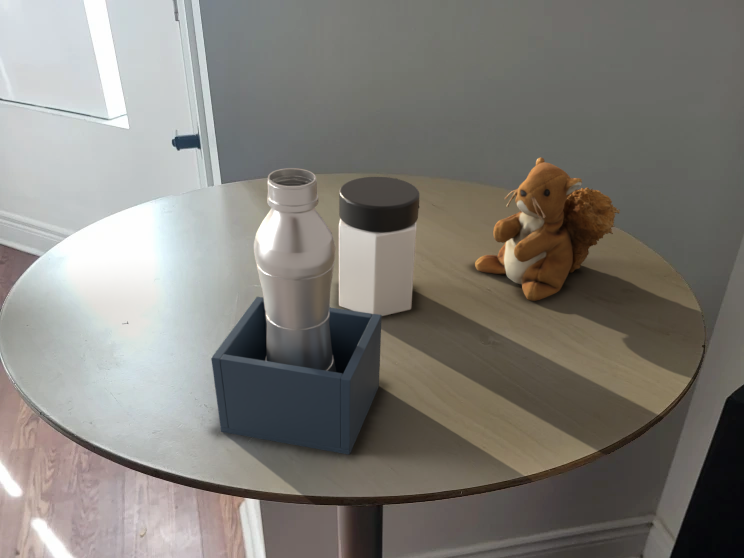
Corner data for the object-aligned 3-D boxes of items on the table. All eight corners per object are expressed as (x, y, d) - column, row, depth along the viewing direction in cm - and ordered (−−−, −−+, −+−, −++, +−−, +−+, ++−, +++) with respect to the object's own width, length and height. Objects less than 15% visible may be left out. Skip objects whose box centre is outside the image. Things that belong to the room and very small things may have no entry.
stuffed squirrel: (467, 270, 92) (481, 155, 83) (560, 247, 97) (582, 137, 88) (518, 308, 85) (539, 187, 76) (615, 281, 91) (645, 166, 82)
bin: (220, 434, 67) (210, 357, 62) (262, 369, 75) (256, 296, 70) (349, 457, 66) (350, 380, 60) (379, 388, 73) (381, 314, 68)
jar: (429, 296, 87) (438, 188, 79) (391, 327, 82) (396, 214, 73) (362, 274, 90) (364, 169, 82) (321, 302, 85) (319, 192, 77)
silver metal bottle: (271, 430, 67) (253, 198, 53) (260, 386, 72) (242, 163, 58) (344, 421, 68) (345, 192, 54) (329, 378, 73) (326, 158, 59)
